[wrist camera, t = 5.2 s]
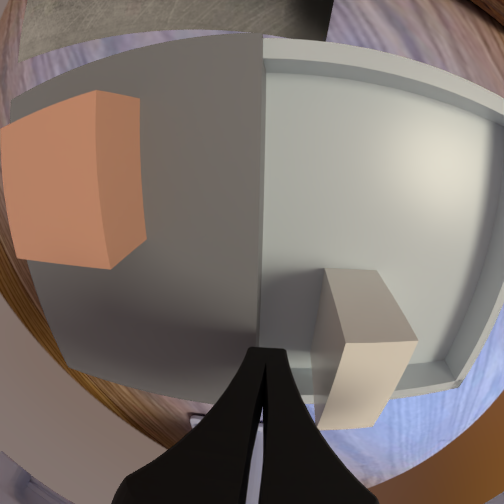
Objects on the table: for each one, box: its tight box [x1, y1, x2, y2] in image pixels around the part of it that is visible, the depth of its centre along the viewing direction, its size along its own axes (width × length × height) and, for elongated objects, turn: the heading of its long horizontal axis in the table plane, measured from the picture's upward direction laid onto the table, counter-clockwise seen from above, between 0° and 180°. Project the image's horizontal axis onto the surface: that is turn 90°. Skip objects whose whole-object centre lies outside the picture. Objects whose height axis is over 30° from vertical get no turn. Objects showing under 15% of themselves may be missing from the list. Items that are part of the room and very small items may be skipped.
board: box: [10, 33, 266, 404], centre depth 11 cm, size 16×12×3 cm
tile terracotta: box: [1, 90, 147, 270], centre depth 8 cm, size 5×5×2 cm
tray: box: [259, 38, 504, 404], centre depth 10 cm, size 16×13×2 cm
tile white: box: [310, 268, 419, 430], centre depth 10 cm, size 5×5×2 cm
